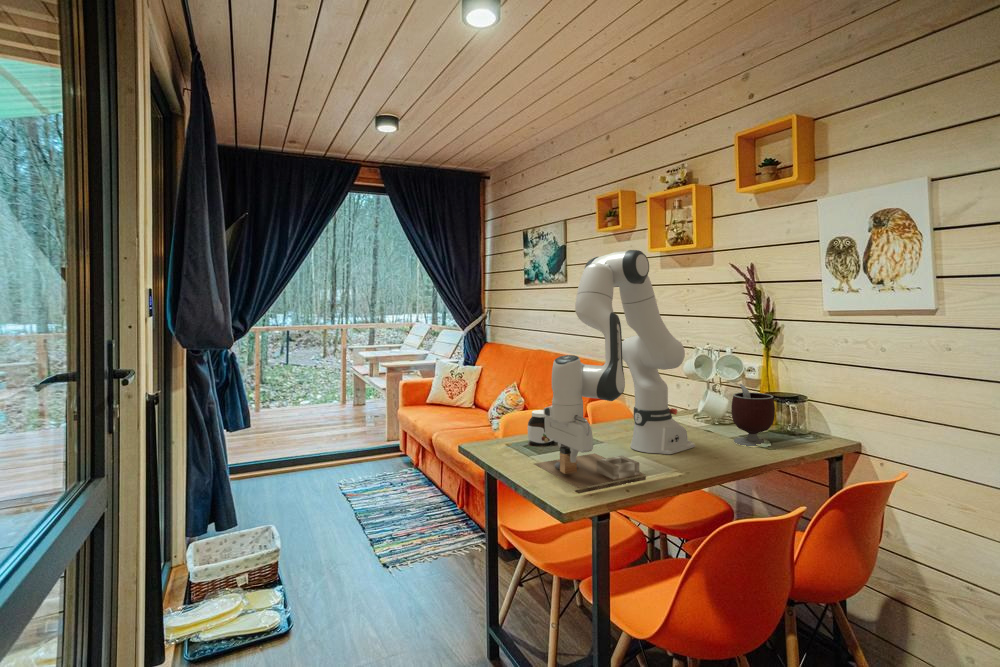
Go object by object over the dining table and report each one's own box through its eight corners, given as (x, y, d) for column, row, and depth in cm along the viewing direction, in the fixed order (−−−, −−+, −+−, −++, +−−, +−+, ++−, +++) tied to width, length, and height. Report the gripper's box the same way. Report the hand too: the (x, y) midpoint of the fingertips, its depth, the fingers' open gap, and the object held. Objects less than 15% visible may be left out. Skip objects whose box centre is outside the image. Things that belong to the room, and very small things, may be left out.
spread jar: (528, 446, 194) (527, 414, 194) (527, 438, 206) (526, 407, 205) (561, 445, 194) (561, 413, 193) (558, 437, 205) (558, 407, 205)
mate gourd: (782, 447, 185) (783, 389, 184) (743, 449, 185) (744, 391, 183) (758, 436, 201) (758, 383, 200) (722, 437, 200) (722, 384, 199)
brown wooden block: (571, 469, 158) (571, 445, 158) (576, 471, 156) (576, 447, 155) (560, 471, 156) (559, 447, 156) (564, 473, 154) (564, 449, 154)
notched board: (594, 457, 178) (594, 442, 178) (645, 479, 156) (645, 462, 155) (533, 468, 168) (533, 452, 168) (578, 493, 146) (578, 475, 145)
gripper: (598, 418, 147) (599, 468, 148) (558, 405, 165) (559, 450, 166) (578, 420, 144) (579, 471, 145) (540, 407, 163) (541, 453, 164)
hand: (568, 460), depth 156 cm, fingers closed on brown wooden block, 3 cm apart
